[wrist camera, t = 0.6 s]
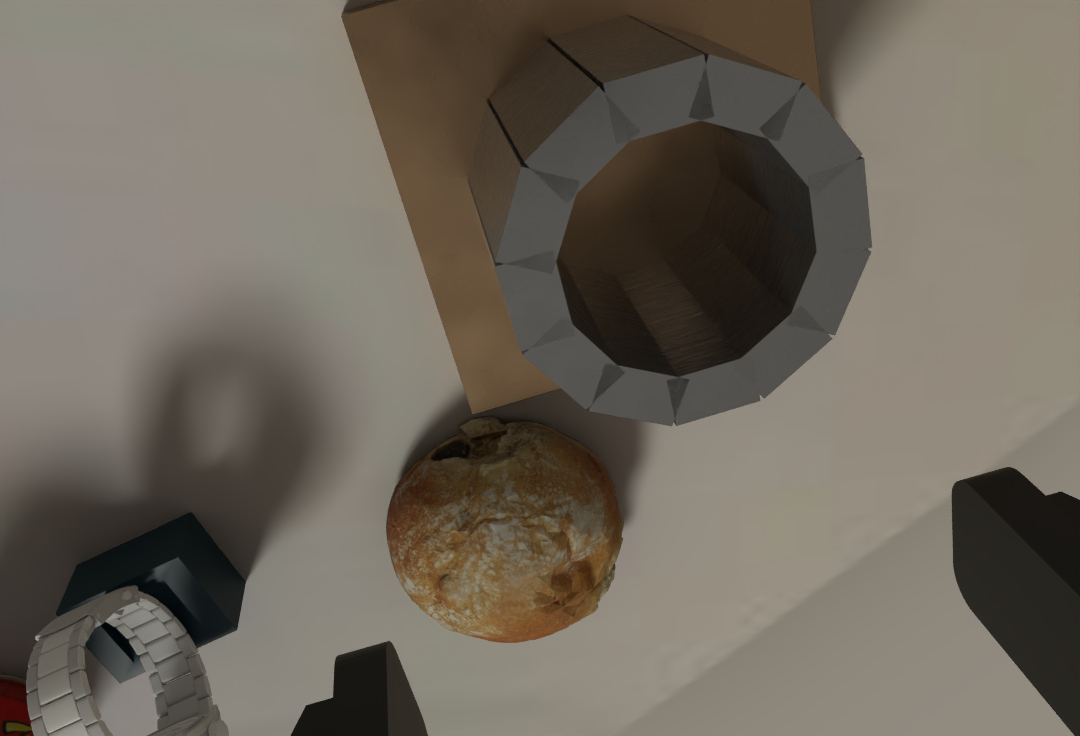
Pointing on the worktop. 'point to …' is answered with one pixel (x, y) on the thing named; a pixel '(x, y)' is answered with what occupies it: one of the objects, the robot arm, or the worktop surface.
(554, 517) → the bread roll
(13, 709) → the soda can
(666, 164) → the gray cylinder on base
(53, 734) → the watch
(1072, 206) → the worktop surface
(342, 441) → the worktop surface
